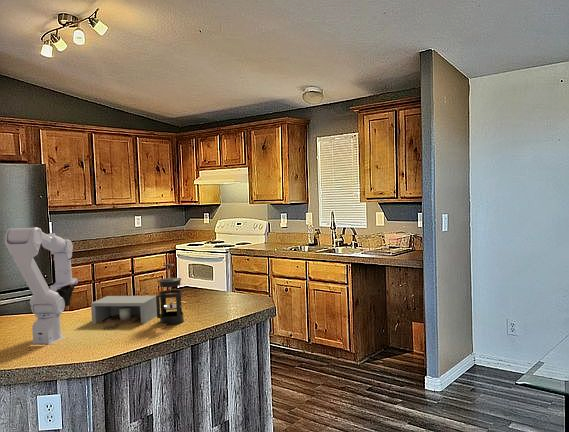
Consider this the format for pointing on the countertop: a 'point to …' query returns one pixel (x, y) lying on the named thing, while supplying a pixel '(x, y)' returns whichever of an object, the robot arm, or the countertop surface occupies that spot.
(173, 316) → the french press
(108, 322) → the tray
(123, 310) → the cream rounded block
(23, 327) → the countertop surface
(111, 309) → the large grey box
